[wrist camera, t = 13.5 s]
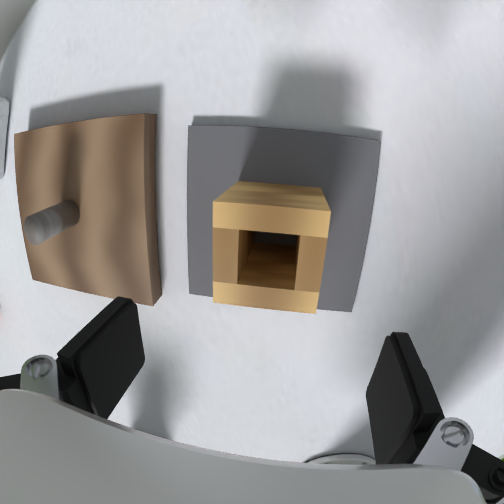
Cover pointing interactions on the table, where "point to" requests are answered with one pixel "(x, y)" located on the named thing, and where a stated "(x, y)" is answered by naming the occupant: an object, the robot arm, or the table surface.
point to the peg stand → (91, 205)
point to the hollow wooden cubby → (269, 246)
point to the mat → (289, 173)
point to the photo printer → (3, 131)
